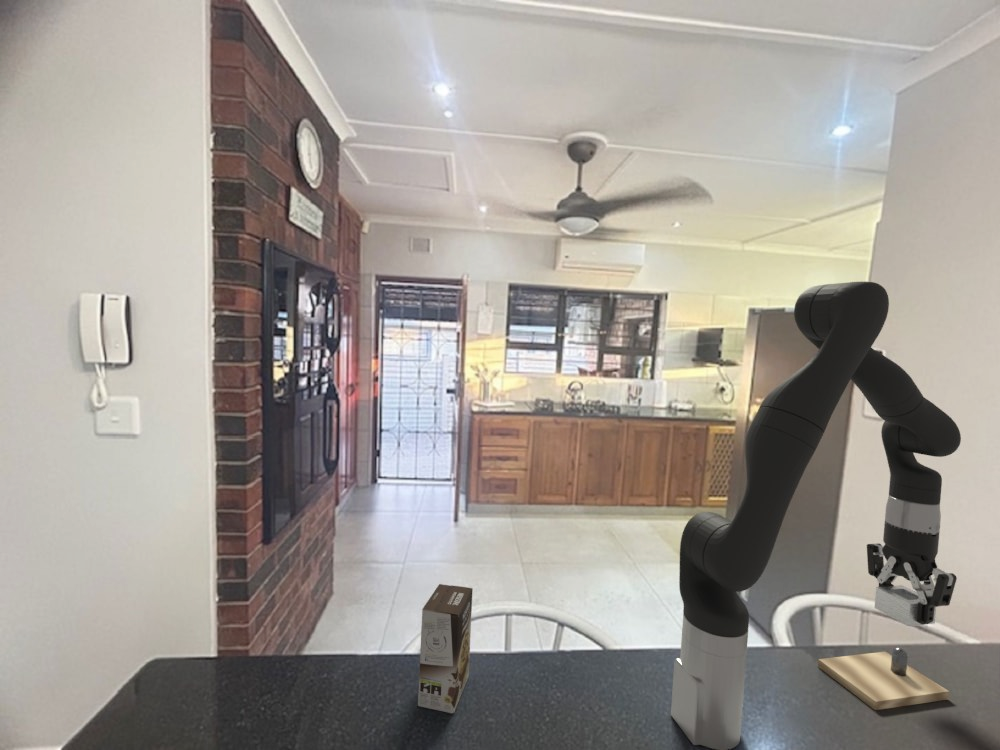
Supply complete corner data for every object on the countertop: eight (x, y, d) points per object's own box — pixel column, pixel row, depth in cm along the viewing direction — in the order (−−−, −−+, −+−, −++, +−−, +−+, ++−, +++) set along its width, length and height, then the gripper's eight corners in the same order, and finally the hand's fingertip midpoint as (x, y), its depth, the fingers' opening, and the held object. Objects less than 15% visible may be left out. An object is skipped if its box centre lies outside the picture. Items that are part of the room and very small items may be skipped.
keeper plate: (875, 710, 79) (878, 675, 78) (817, 666, 89) (820, 635, 89) (948, 699, 82) (951, 665, 82) (884, 658, 93) (887, 629, 92)
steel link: (908, 626, 82) (910, 604, 82) (874, 607, 88) (876, 587, 88) (934, 623, 84) (936, 601, 83) (899, 605, 90) (901, 585, 89)
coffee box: (455, 715, 73) (459, 615, 73) (416, 707, 75) (420, 609, 74) (470, 676, 82) (474, 587, 82) (435, 669, 84) (439, 581, 83)
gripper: (857, 510, 91) (850, 594, 92) (940, 540, 77) (931, 638, 78) (887, 509, 93) (880, 591, 94) (974, 538, 79) (965, 634, 80)
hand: (903, 612), depth 86 cm, fingers closed on steel link, 6 cm apart
